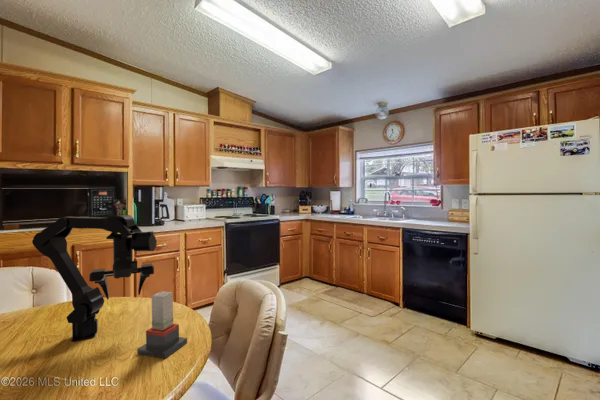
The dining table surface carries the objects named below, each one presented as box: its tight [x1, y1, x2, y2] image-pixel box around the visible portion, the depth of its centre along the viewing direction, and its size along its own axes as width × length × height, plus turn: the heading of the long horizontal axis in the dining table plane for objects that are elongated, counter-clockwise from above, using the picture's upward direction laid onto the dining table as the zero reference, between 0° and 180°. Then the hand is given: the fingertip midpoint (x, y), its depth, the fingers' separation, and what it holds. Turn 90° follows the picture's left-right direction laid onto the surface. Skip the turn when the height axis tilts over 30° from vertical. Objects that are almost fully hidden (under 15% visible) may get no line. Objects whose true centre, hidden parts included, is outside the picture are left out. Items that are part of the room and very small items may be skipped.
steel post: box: [151, 290, 174, 332], centre depth 94 cm, size 4×4×12 cm
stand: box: [136, 323, 188, 359], centre depth 94 cm, size 10×10×6 cm
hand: (123, 296), depth 103 cm, fingers open, 9 cm apart
